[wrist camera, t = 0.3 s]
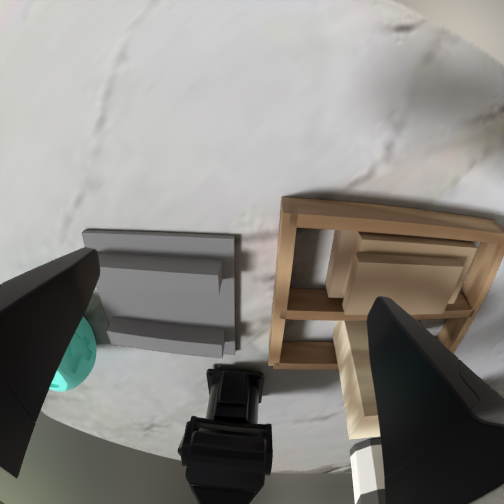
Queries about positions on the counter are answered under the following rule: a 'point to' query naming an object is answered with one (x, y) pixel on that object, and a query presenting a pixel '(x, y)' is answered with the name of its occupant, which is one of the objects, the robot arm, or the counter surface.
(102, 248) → the holder
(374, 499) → the wine bottle
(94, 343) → the decorative dice
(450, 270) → the offcut stack
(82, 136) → the counter surface
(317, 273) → the counter surface
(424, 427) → the robot arm
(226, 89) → the counter surface
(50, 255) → the counter surface
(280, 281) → the rack
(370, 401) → the pale wooden block
